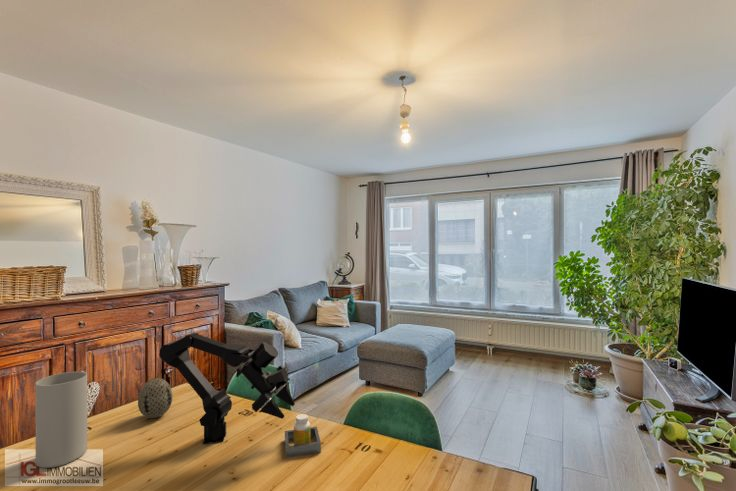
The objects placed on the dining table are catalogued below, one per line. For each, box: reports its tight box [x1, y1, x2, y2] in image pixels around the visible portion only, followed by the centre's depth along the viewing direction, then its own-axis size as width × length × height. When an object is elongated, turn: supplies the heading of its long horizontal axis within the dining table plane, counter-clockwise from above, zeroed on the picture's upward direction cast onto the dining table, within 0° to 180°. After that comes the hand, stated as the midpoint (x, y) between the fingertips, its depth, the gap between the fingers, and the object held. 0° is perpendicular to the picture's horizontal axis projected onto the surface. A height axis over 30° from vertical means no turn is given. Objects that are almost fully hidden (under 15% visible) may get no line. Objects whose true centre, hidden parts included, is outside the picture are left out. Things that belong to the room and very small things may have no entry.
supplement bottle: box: [293, 413, 311, 445], centre depth 120 cm, size 5×5×10 cm
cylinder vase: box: [35, 371, 88, 469], centre depth 114 cm, size 12×12×25 cm
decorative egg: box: [137, 377, 174, 419], centre depth 141 cm, size 12×12×15 cm
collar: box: [284, 426, 322, 459], centre depth 119 cm, size 11×11×3 cm
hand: (288, 411), depth 120 cm, fingers open, 9 cm apart
